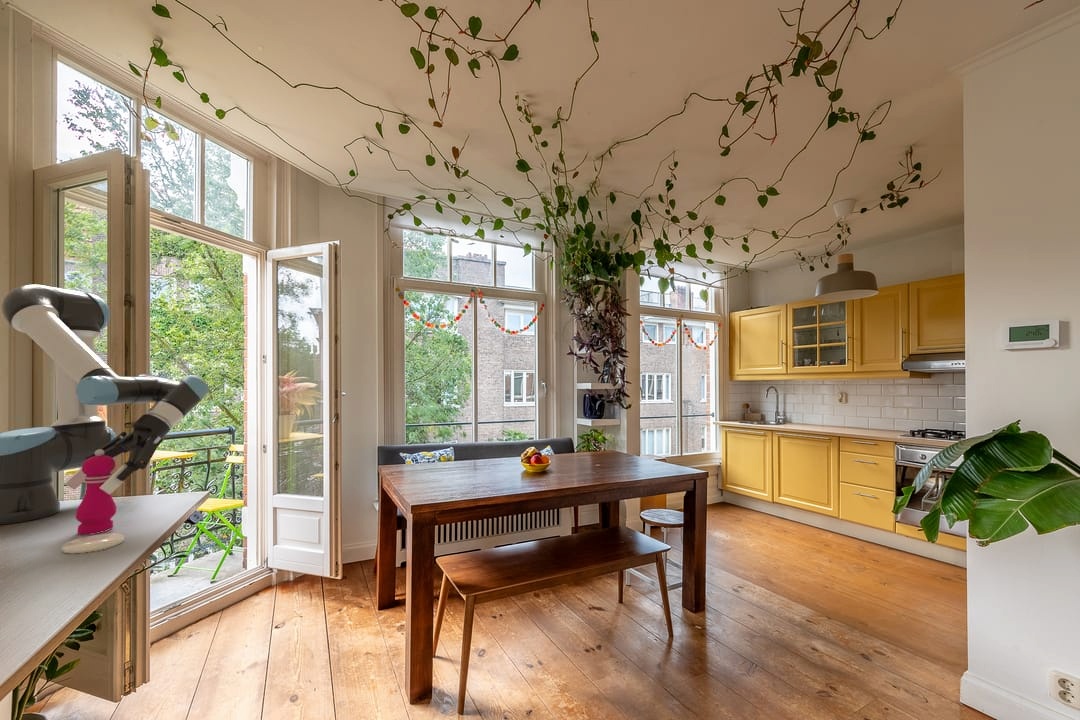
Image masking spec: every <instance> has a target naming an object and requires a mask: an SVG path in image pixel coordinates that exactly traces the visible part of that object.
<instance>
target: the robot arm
mask: <svg viewBox="0 0 1080 720" xmlns="http://www.w3.org/2000/svg"><path fill="white" fill-rule="evenodd" d="M1 312H2V315H3V317H4V319H5V320H6V321H7V322H8V324H9V325H11V327H13V329H15V330H16V331H18V332H20V333H22V334H23V333H24V334H26V335H27V336H28V337H29V338H30V339H31V340H33V342H34V343H36V344H37V346H38V347H40V348H41V349H42V351H43V352H45V353H46V355H48V356H49V357H50V359H52V360H53V361H54V368H55V384H56V385H55V386H56V387H55V388H56V407H57V420H56V421H54V422H53V423H52V424H51V425H50V426H42V427H41V426H40V427H31V428H30V427H29V428H21V429H20V428H19V429H15V430H10V431H5V432H2V433H0V525H7V524H8V525H9V524H15V523H23V522H28V521H33V520H38V519H43V518H47V517H50V516H52V515H55V514H56V515H57V514H58V513H59V512H60V511H61V503H60V500H58V496H57V492H56V491H55V488H54V485H53V475H54V473H56V472H63V471H68V470H70V471H71V470H75V469H78V470H76V472H74V473H73V475H71V476H70V477H69V478H68V479H67V480H66V481H65V482H63V484H64V485H66V486H67V487H69V488H70V489H72V490H76V489H78V487H80V486H81V485H82V484H83V483H84V481H85V479H84V477H86V474H85V473H83V471H82V465H83V463H84V461H86V460H87V459H88V458H90V457H93V456H96V455H95V451H96V450H99V449H102V450H104V455H105V456H110V457H111V458H113V459H114V458H115V457H118V456H120V455H121V454H123V453H124V454H125V453H128V452H130V454H129V457H128V460H127V461H126V462H124V464H125V465H124V464H123V465H121V466H120V467H119V468H118V469H117V470H116V471H115V472H114V473H113V474H112V476H111V477H110V478H109V479H108V480H107V481H106V482H105V483H104V484H103V485H102V486H101V487H100V489H102V490H103V491H105V492H106V493H108V494H111V495H112V494H113V493H114V492H115V490H117V489H118V488H119V486H120V485H122V484H123V482H125V481H126V480H127V478H129V477H130V476H131V475H132V473H134V472H137V471H138V470H145V469H146V468H147V466H148V464H149V463H150V461H151V459H152V457H153V456H154V454H155V452H156V450H157V449H158V447H159V446H160V445H161V443H162V442H163V441H164V439H163V438H164V437H166V436H167V434H169V433H170V431H171V430H170V429H173V428H174V427H175V426H176V425H179V423H180V421H182V419H183V418H185V417H186V416H187V414H189V413H190V412H191V411H192V410H193V409H194V408H195V407H196V406H197V405H198V404H200V402H202V401H203V399H204V398H205V397H206V396H207V394H208V393H209V392H210V387H209V385H208V384H207V382H206V381H205V380H204V379H202V378H201V377H198V376H196V375H193V374H189V375H186V376H184V377H183V378H181V380H180V381H179V380H173V379H169V378H164V377H160V376H157V375H154V374H152V375H151V374H145V373H144V374H139V375H137V376H121V375H120V376H119V375H118V374H117V372H115V371H114V370H113V369H112V368H111V367H109V365H108V364H107V363H106V362H105V361H104V360H103V359H101V357H100V356H98V354H96V353H95V352H96V351H95V339H96V338H97V337H99V336H100V335H101V331H102V330H103V329H105V328H106V327H107V326H108V323H109V322H110V318H111V314H110V313H111V312H110V309H109V306H108V304H107V303H106V301H105V300H104V299H103V298H101V297H99V296H98V295H96V294H93V293H88V292H86V291H82V290H73V289H67V288H60V287H54V286H47V285H43V284H37V283H35V284H27V285H25V284H24V285H22V286H18V287H15V288H13V289H12V290H11V291H9V292H8V293H7V294H6V295H4V297H3V299H2V303H1ZM147 403H149V404H151V403H153V405H152V406H150V407H149V409H147V410H146V412H145V414H143V415H141V416H140V417H139V418H138V419H136V421H134V422H133V424H132V426H133V427H132V428H133V431H132V432H130V433H127V432H126V431H122V432H121V433H120V434H118V435H117V434H116V432H114V429H113V428H111V427H108V426H106V420H105V419H104V418H102V417H101V416H99V407H98V406H101V407H102V406H108V405H111V406H112V405H125V404H147Z"/></svg>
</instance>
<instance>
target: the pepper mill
mask: <svg viewBox="0 0 1080 720" xmlns="http://www.w3.org/2000/svg"><path fill="white" fill-rule="evenodd" d="M95 455H96V456H93V457H90V458H88V459H87V460H86V461H84V463H83V465H82V471H83V473H85V474H86V477H84V479H85V481H84V482H83V483H85V484H86V485H85V486H86V487H85V493H84V497H83V498H82V501H80V504H79V505H78V507H77V509H76V512H75V519H76V520H77V521H78V522H79V523H80V524H78V526H77V534H78V535H82V534H87V535H92V534H91V533H96V534H98V533H97V532H101V531H105V530H108V529H110V528H112V527H113V528H114V521H113V519H112V518H113V517H114V516H115V514H116V513H117V506H116V502H115V500H114V498H113V496H112V493H111V494H108V493H106V492H105V491H103V490H102V489H100V487H101V486H102V485H103V484H104V483H105V482H106V481H107V480H108V479H109V478H110V477H111V476H112V475H113V474H112V472H113V471H114V470H115V468H116V460H115V459H114V457H113V458H111V457H110V456H105V455H104V450H102V449H99V450H96V451H95ZM113 528H112V529H113ZM110 530H111V529H110ZM108 531H109V530H108ZM105 532H106V531H105ZM101 533H102V532H101Z"/></svg>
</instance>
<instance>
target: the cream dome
mask: <svg viewBox="0 0 1080 720" xmlns="http://www.w3.org/2000/svg"><path fill="white" fill-rule="evenodd" d="M123 541H124V542H125V535H124V534H122V533H115V532H114V533H113V532H112V533H111V532H110V533H102V534H100V533H99V534H96V535H95V534H93V535H90V536H89V535H88V536H84V537H80V538H77V539H74V540H73V539H72V540H70V541H67V542H66V543H64V544H63V545H62V550H61V551H63V552H64V554H66V553H70V554H69V555H76V554H75V553H80V554H86V553H85V552H88V553H92V552H91V551H94V552H98V550H99V551H103V550H102V549H104V550H108V549H110V548H114V547H116V545H117V546H119V545H121V544H123V543H124V542H123ZM122 542H123V543H122ZM120 543H121V544H120ZM118 544H119V545H118ZM107 548H108V549H107ZM63 552H62V553H63Z"/></svg>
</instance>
